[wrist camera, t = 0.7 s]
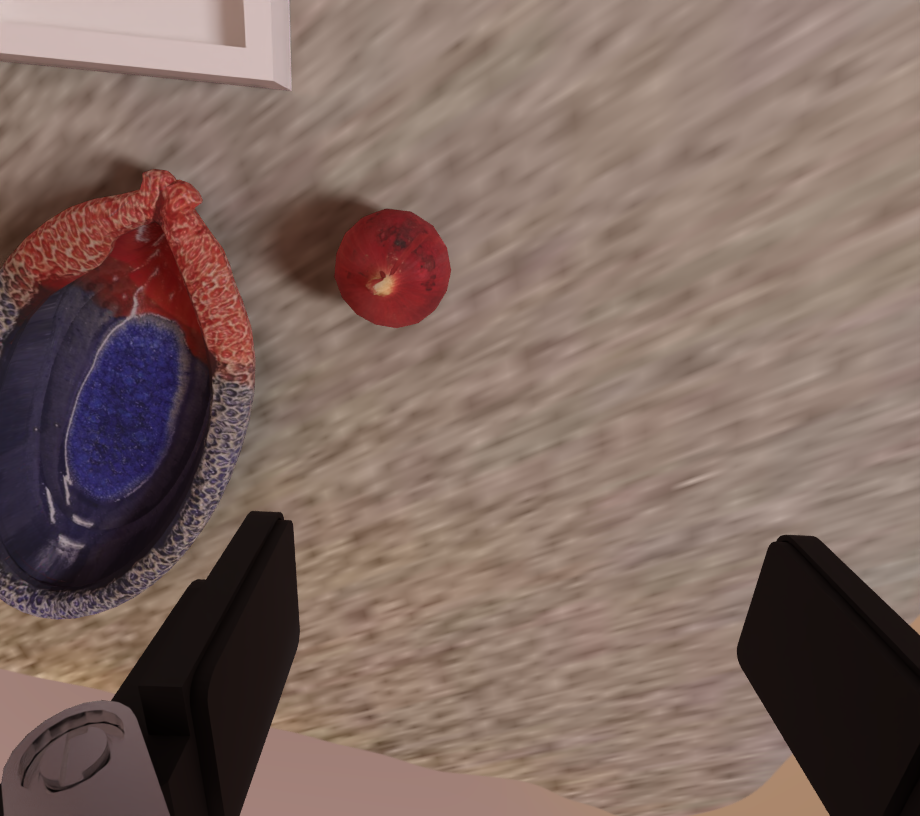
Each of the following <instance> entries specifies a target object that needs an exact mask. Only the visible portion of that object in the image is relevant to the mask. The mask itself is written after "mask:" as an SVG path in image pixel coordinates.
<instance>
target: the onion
mask: <svg viewBox="0 0 920 816" xmlns="http://www.w3.org/2000/svg"><path fill="white" fill-rule="evenodd" d="M450 273H451V267H450V262H449V257H448V252H447V247H446V246H445V244H444V242H443V241H442V239H441V238H440V236H439V234H438V233H437V231H436V230H435V228H434V226H433V225H431V224H429V223H428V222H426V221H425V220H423V219H422V218H420V217H419V216H417V215H415V214H414V213H412V212H410V211H401V210H393V209H384V210H381V211H378V212H375V213H373V214H370V215H367V216H364V217H363V218H361V219H360V220H359V221H358V222H357V223H356V224H355V225H354V226H353V227H352V228H351V229H349V230H348V231H347V232H346V233H345V235H344V237H343V240H342V242H341V244H340V247H339V249H338V251H337V254H336V264H335V275H334V277H335V280H336V282H337V285H338V288H339V290H340V293H341V296H342V298H343V299H344V300H345V301H346V303H347V304H348V305H349V306H350V307H351V308H352V309H353V311H354V312H355V313H356V314H357V315H359V316H361V317H363V318H365V319H366V320H368V321H370V322H372V323H374V324H376V325H382V326H388V327H394V328H399V327H403V326H408V325H412V324H416V323H419V322H420V321H421V320H423V319H424V318H425V317H427V316H428V315H429V314H431V313H432V312H433V311H434V310H435V309H436V308H437V306H438V305H439V303H440V301H441V300H442V298H443V296H444V295H445V293H446V291H447V287H448V282H449V278H450Z"/></svg>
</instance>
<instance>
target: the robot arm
mask: <svg viewBox="0 0 920 816" xmlns="http://www.w3.org/2000/svg"><path fill="white" fill-rule="evenodd" d="M299 635H300V625H299V610H298V594H297V578H296V562H295V547H294V531H293V523H292V521H291V520H284V517H283V514H282V513H281V512H262V511H251V512H250V513H249V514H248V515H247V516H246V518H245V520H244V521H243V523H242V524H241V526H240V527H239V529H238V531H237V532H236V534H235V535H234V537H233V538H232V540H231V541H230V543H229V545H228V546H227V548H226V549H225V551H224V552H223V554H222V555H221V557H220V559H219V560H218V562H217V563H216V565H215V566H214V568H213V569H212V571H211V573H210V574H209V576H208V577H207V579H206V580H201V579H197V580H195V581H193V582H192V583H191V584H190V585H189V587H188V588H187V589H186V591H185V592H184V594H183V595H182V597H181V598H180V599H179V601H178V602H177V604H176V605H175V607H174V608H173V610H172V611H171V613H170V614H169V616H168V617H167V619H166V620H165V622H164V623H163V625H162V626H161V628H160V629H159V631H158V632H157V634H156V635H155V636H154V638H153V639H152V641H151V642H150V644H149V645H148V647H147V648H146V650H145V651H144V653H143V654H142V656H141V657H140V659H139V660H138V662H137V663H136V665H135V666H134V668H133V669H132V671H131V672H130V673H129V675H128V676H127V678H126V679H125V681H124V682H123V684H122V685H121V687H120V688H119V690H118V691H117V693H116V694H115V696H114V697H113V699H112V700H111V701H105V700H101V701H95V702H87V703H83V704H80V705H77V706H74V707H71V708H68V709H66V710H63V711H62V712H60V713H58V714H56V715H54V716H53V717H51V718H49V719H47V720H45V721H44V722H43V723H41V724H40V725H39V726H37V728H35V729H34V730H32V731H31V732H30V733H29V734H27V736H25V738H24V739H23V740H22V741H21V742H20V743H19V744H18V746H17V747H16V748H15V749H14V750H13V751H12V753H11V755H10V757H9V759H8V761H7V763H6V764H5V766H4V769H3V776H2V782H1V784H0V816H240V813H241V810H242V807H243V804H244V801H245V798H246V795H247V792H248V789H249V787H250V784H251V781H252V778H253V775H254V772H255V769H256V766H257V763H258V761H259V758H260V755H261V752H262V749H263V746H264V743H265V740H266V737H267V734H268V731H269V729H270V726H271V723H272V720H273V717H274V714H275V711H276V709H277V706H278V703H279V700H280V697H281V694H282V691H283V688H284V685H285V682H286V680H287V677H288V674H289V671H290V668H291V665H292V662H293V659H294V656H295V654H296V651H297V647H298V642H299ZM737 657H738V661H739V664H740V666H741V668H742V670H743V671H744V673H745V675H746V676H747V678H748V680H749V681H750V683H751V685H752V686H753V688H754V690H755V691H756V693H757V695H758V696H759V698H760V700H761V701H762V703H763V705H764V706H765V708H766V710H767V711H768V713H769V715H770V716H771V718H772V720H773V721H774V723H775V725H776V726H777V728H778V730H779V731H780V733H781V735H782V736H783V738H784V740H785V741H786V743H787V745H788V746H789V748H790V750H791V751H792V753H793V755H794V756H795V758H796V760H797V761H798V763H799V765H800V766H801V768H802V770H803V771H804V773H805V775H806V776H807V778H808V780H809V781H810V783H811V785H812V786H813V788H814V790H815V791H816V793H817V795H818V796H819V798H820V800H821V801H822V803H823V805H824V806H825V808H826V810H827V811H828V813H829V815H830V816H920V635H919V634H918V633H917V632H916V631H915V630H914V629H912V628H911V627H910V626H909V625H908V624H907V623H906V622H905V621H904V620H903V619H902V618H901V617H900V616H899V615H898V614H897V613H896V612H895V611H894V610H893V609H892V608H891V607H890V606H888V605H887V604H886V603H885V602H884V601H883V600H882V599H881V598H880V597H879V596H878V595H877V594H876V593H875V592H874V591H873V590H872V589H871V588H870V587H869V586H868V585H867V584H865V583H864V582H863V581H862V580H861V579H860V578H859V577H858V576H857V575H856V574H855V573H854V572H853V571H852V570H851V569H850V568H849V567H848V566H847V565H846V564H845V563H843V562H842V561H841V560H840V559H839V558H838V557H837V556H836V555H835V554H834V553H833V552H832V551H831V550H830V549H829V548H828V547H827V546H826V545H825V544H824V543H823V542H822V541H820V540H819V539H818V538H816V537H814V536H801V535H782V536H780V537H779V538H778V539H777V541H776V542H772V543H771V544H770V545H769V547H768V550H767V553H766V556H765V559H764V563H763V566H762V569H761V572H760V575H759V578H758V582H757V585H756V588H755V591H754V594H753V598H752V601H751V604H750V607H749V610H748V613H747V617H746V620H745V623H744V626H743V629H742V633H741V636H740V639H739V642H738V646H737Z"/></svg>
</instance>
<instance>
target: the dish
mask: <svg viewBox="0 0 920 816" xmlns="http://www.w3.org/2000/svg"><path fill="white" fill-rule="evenodd" d="M202 201H203V200H202V198H201V195H200V193H199V192H198V191H197V190H196V189H195V188H194V187H193V186H192V185H191V184H189V183H187V182H185V181H182V180H176V178H175V177H174V176H173V175H172V174H171V173H170V172H168V171H166V170H157V169H153V170H150V171H147V172H144V173H143V181H142V184H141V187H140V190H136V191H132V192H128V193H124V194H120V195H114V196H108V197H102V198H96V199H92V200H89V201H86V202H84V203H81V204H78V205H75V206H72V207H69V208H68V209H66V210H64V211H63V212H61V213H59V214H57V215H56V216H54V217H52V218H51V219H49V220H48V221H46V222H45V223H44V224H43V225H41V226H40V227H39V228H37V229H36V230H35V231H34V232H32V233H31V234H30V235H29V236H27V238H26V239H25V240H24V241H23V242H22V243H21V244H20V245H19V246H18V247H17V248H16V249H15V251H14V252H13V253H12V254H11V255H10V256H9V257H8V258H7V260H6V261H5V263H4V264H3V266H2V268H1V269H0V599H1V600H3V601H4V602H5V603H7V604H8V605H10V606H12V607H14V608H16V609H18V610H20V611H22V612H24V613H27V614H31V615H34V616H37V617H42V618H50V619H73V618H79V617H83V616H88V615H93V614H97V613H100V612H103V611H106V610H109V609H111V608H114V607H117V606H119V605H121V604H122V603H124V602H126V601H128V600H130V599H132V598H134V597H136V596H137V595H138V594H140V593H141V592H143V591H144V590H146V589H147V588H148V587H150V586H151V585H153V584H154V583H155V582H156V581H157V580H158V579H160V578H161V577H162V576H163V575H164V574H165V573H166V572H167V571H169V570H170V569H171V568H172V567H173V566H174V564H175V563H176V562H177V561H178V560H179V559H180V558H181V557H182V556H183V555H184V553H185V552H186V551H187V550H188V549H189V547H190V546H191V545H192V543H193V542H194V541H195V539H196V538H197V536H198V535H199V534H200V532H201V531H202V530H203V528H204V527H205V525H206V524H207V522H208V520H209V519H210V517H211V515H212V513H213V512H214V510H215V508H216V507H217V505H218V503H219V501H220V499H221V497H222V495H223V493H224V491H225V489H226V486H227V484H228V482H229V480H230V478H231V475H232V473H233V470H234V467H235V465H236V462H237V459H238V457H239V454H240V451H241V448H242V445H243V441H244V438H245V434H246V431H247V427H248V424H249V420H250V414H251V408H252V402H253V396H254V388H255V352H254V344H253V336H252V328H251V325H250V322H249V319H248V316H247V313H246V309H245V306H244V303H243V301H242V298H241V296H240V293H239V291H238V288H237V286H236V284H235V281H234V278H233V274H232V270H231V267H230V264H229V262H228V259H227V257H226V254H225V252H224V250H223V248H222V246H221V245H220V244H219V242H218V241H217V240H216V238H215V237H214V236H213V234H212V233H211V232H210V230H209V229H208V228H207V226H206V225H205V223H204V222H203V220H202V219H201V217H200V216H199V214H198V213H197V212H196V210H195V207H196V206H197V205H199V204H201V203H202Z"/></svg>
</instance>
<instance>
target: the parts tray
mask: <svg viewBox="0 0 920 816" xmlns="http://www.w3.org/2000/svg"><path fill="white" fill-rule="evenodd" d="M0 61H3V62H13V63H22V64H32V65H42V66H52V67H62V68H72V69H81V70H91V71H101V72H111V73H121V74H131V75H141V76H150V77H160V78H170V79H180V80H190V81H200V82H209V83H219V84H229V85H239V86H249V87H259V88H268V89H278V90H288V91H292V87H291V45H290V2H289V0H0Z"/></svg>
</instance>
